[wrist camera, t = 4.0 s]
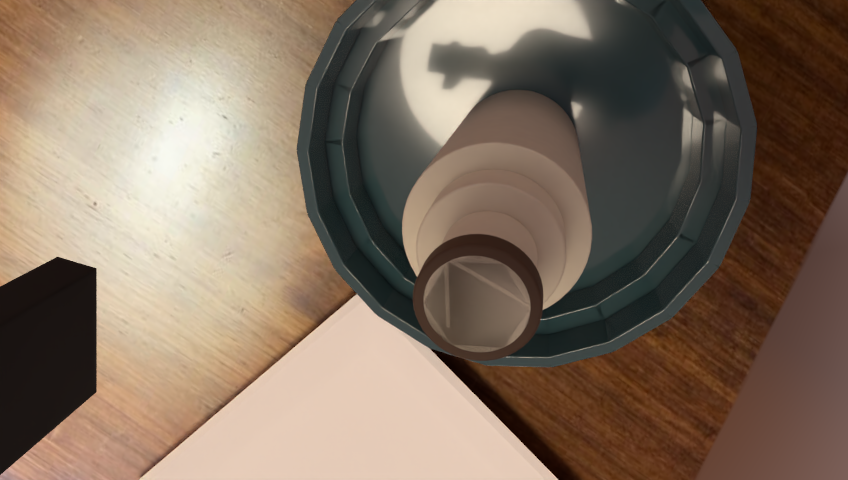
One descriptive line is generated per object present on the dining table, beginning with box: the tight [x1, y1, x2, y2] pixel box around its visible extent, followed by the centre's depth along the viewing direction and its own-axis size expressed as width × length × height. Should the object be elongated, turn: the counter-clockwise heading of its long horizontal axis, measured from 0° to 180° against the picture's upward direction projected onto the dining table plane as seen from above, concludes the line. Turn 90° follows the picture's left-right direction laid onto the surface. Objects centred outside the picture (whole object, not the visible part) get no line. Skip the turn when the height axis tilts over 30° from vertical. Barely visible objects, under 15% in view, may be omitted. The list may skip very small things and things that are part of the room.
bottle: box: [402, 90, 592, 361], centre depth 23 cm, size 6×6×17 cm
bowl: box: [297, 0, 757, 367], centre depth 29 cm, size 19×19×5 cm
